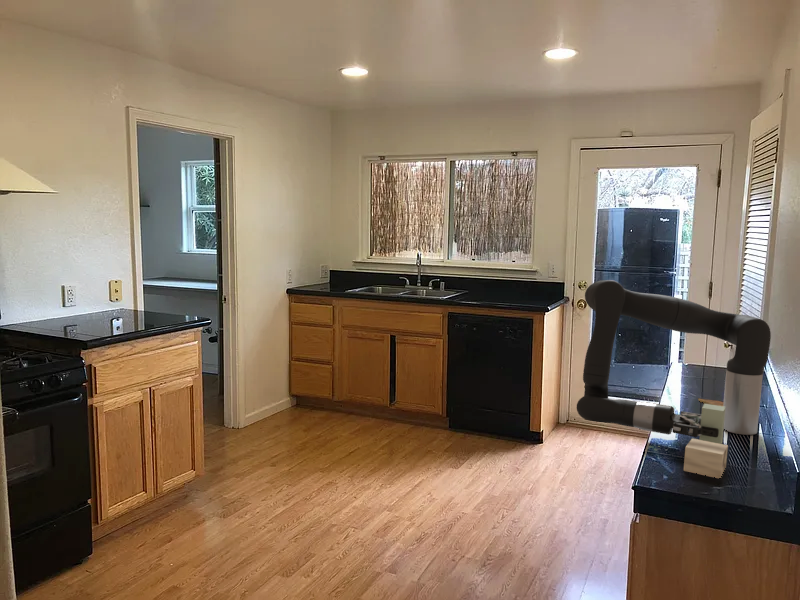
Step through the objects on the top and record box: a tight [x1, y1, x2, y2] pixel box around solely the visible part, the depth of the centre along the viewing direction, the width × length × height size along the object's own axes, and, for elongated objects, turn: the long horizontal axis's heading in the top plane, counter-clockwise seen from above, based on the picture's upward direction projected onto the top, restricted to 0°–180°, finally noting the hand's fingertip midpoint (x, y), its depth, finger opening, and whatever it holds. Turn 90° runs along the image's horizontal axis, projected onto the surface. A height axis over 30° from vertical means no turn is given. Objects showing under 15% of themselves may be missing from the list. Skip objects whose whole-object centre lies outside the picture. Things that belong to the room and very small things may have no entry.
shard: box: [697, 397, 724, 406], centre depth 215 cm, size 11×8×2 cm
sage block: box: [698, 403, 726, 444], centre depth 167 cm, size 5×5×12 cm
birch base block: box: [683, 437, 729, 479], centre depth 155 cm, size 8×8×6 cm
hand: (720, 428), depth 166 cm, fingers open, 8 cm apart
